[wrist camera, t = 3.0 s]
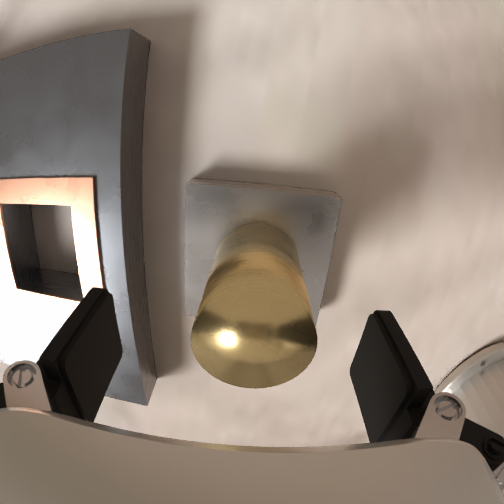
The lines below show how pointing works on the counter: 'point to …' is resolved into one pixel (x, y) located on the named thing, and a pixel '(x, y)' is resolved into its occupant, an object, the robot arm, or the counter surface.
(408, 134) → the counter surface
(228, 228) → the gray square slab
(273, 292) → the barrel peg
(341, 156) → the counter surface
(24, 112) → the plate
